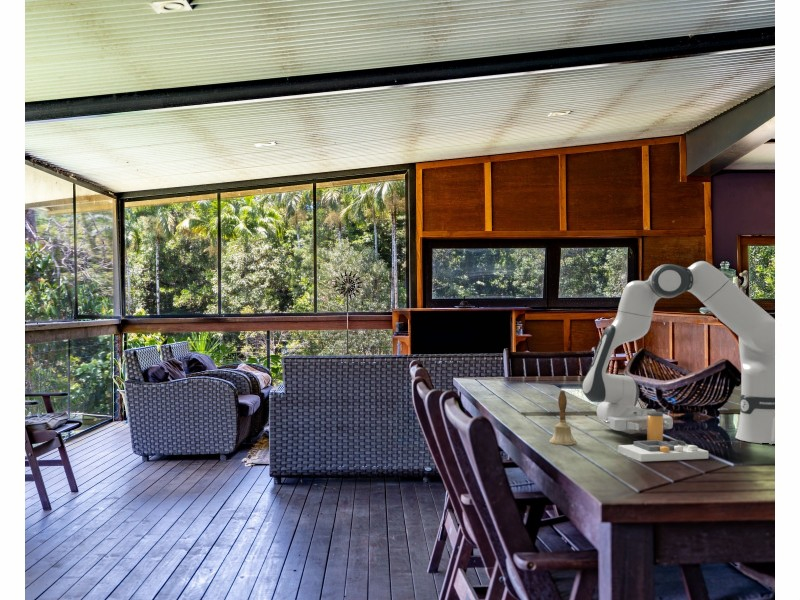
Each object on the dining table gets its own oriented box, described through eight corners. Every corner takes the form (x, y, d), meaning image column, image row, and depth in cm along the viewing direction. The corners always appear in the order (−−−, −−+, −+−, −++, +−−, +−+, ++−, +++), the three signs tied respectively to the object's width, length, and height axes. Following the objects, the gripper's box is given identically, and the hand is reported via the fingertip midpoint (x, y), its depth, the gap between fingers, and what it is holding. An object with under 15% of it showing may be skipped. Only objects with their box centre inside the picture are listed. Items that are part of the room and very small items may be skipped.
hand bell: (557, 445, 210) (557, 393, 210) (544, 440, 218) (544, 389, 218) (581, 444, 212) (582, 392, 212) (568, 439, 220) (568, 388, 220)
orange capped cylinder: (657, 443, 214) (657, 411, 214) (665, 446, 210) (666, 413, 210) (644, 444, 213) (644, 411, 213) (652, 447, 209) (652, 413, 209)
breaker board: (682, 449, 206) (682, 438, 206) (708, 458, 194) (708, 447, 194) (617, 452, 201) (617, 441, 201) (640, 461, 190) (640, 449, 190)
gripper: (600, 410, 224) (623, 417, 210) (657, 408, 228) (683, 415, 215) (600, 430, 224) (623, 438, 210) (657, 428, 228) (683, 436, 215)
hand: (654, 426), depth 212 cm, fingers open, 8 cm apart
